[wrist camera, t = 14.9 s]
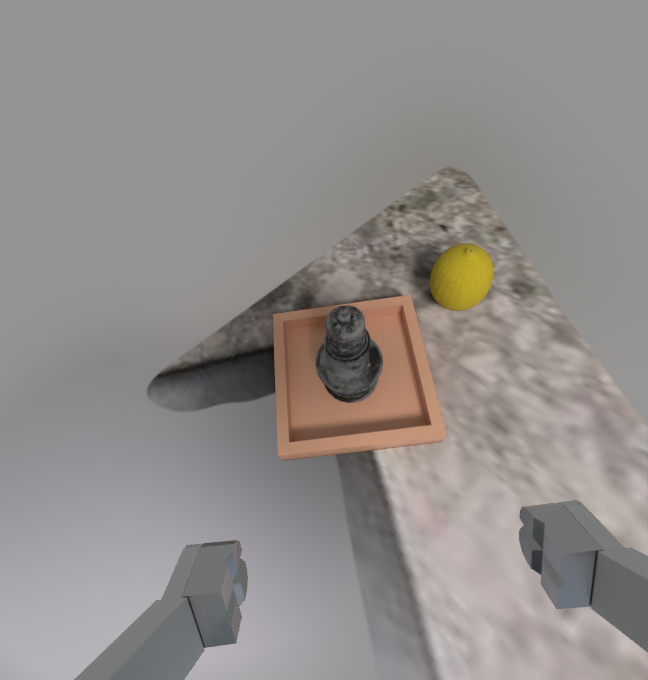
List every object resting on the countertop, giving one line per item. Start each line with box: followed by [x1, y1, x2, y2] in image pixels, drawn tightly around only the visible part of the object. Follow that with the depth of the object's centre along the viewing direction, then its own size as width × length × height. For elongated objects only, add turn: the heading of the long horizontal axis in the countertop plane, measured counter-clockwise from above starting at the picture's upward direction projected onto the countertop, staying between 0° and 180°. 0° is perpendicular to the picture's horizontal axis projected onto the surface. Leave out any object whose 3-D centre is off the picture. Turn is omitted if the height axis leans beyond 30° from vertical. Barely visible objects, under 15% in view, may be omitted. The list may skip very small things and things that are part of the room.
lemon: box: [430, 244, 493, 311], centre depth 34 cm, size 6×6×8 cm
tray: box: [273, 295, 447, 461], centre depth 34 cm, size 14×14×2 cm
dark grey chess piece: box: [316, 305, 383, 403], centre depth 29 cm, size 6×6×12 cm
